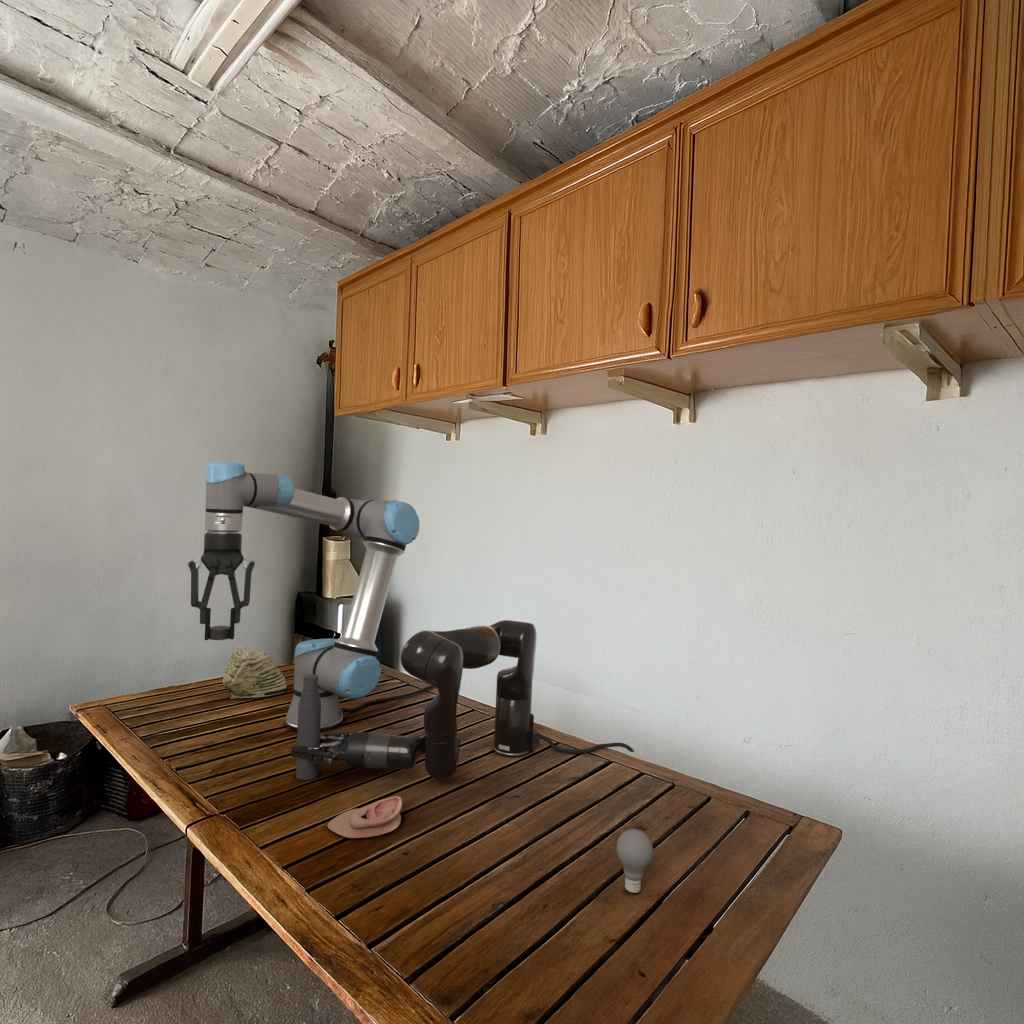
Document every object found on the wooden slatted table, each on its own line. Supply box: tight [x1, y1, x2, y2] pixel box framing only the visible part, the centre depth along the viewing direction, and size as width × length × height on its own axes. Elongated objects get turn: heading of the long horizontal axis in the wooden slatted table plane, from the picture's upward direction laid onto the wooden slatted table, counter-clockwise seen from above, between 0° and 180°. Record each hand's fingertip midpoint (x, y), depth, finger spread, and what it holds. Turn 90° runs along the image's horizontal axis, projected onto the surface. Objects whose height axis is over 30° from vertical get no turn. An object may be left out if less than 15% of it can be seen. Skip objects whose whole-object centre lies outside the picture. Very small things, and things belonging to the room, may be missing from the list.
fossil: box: [222, 646, 288, 699], centre depth 198 cm, size 9×18×15 cm, turn 132°
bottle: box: [295, 674, 321, 781], centre depth 143 cm, size 5×5×23 cm
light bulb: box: [615, 828, 654, 894], centre depth 106 cm, size 6×6×10 cm
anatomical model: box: [327, 795, 403, 839], centre depth 123 cm, size 13×4×12 cm
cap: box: [209, 625, 230, 641], centre depth 139 cm, size 4×4×2 cm
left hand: (219, 638), depth 139 cm, fingers closed on cap, 4 cm apart
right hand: (296, 746), depth 144 cm, fingers closed on bottle, 5 cm apart
